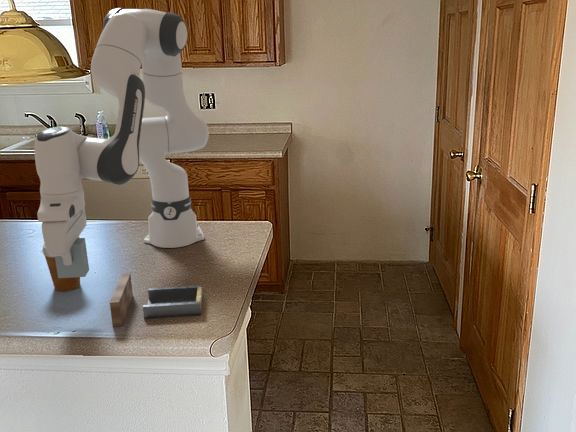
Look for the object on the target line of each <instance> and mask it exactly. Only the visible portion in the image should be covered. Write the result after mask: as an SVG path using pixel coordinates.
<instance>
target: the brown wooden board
mask: <svg viewBox="0 0 576 432" xmlns="http://www.w3.org/2000/svg"><path fill="white" fill-rule="evenodd" d="M133 296H134V293H133V285H132V276H131V273H121V276H120V277H119V281H118V283H117V285H116V287H115V289H114V292H113V293H112V297H111V299H110V301H109V309H110V317H111V323H112V324H111V325H112V328H117V327H118V328H119V327H123V324H124V321H125V318H126V315H127V313H128V310H129V308H130V304H131V302H132V299H133Z"/></svg>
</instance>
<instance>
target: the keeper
mask: <svg viewBox="0 0 576 432" xmlns="http://www.w3.org/2000/svg"><path fill="white" fill-rule="evenodd" d="M147 295H148V296H147V297H148V301H147V304H143V305H142V310H143V311H142V312H143V319H148V320H149V319H162V318H163V319H164V318H178V317H192V316H193V317H195V316H201V315H202V308H203V297H204V296H203V285H188V286H187V285H186V286H185V285H183V286H169V287H168V286H167V287H156V288H155V287H152V288H151V287H150V288H149V287H148V289H147Z"/></svg>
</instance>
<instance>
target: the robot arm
mask: <svg viewBox="0 0 576 432" xmlns="http://www.w3.org/2000/svg"><path fill="white" fill-rule="evenodd" d="M101 31H102V32H101V33H100V36H99V38H98V41H97V43H96V46H95V49H94V52H93V55H92V58H91V63H90V73H91V76H92V78H93V80H94V81H95V82H96V84H97V85H98V86H99V87H100V88H101V89H102V90H104V91H105V92H107V93H108V94H110V95H112V96H113V97H115V98H116V99H117V100H118V111H117V117H116V124H115V131H114V133H113V135H112V136H111V137H109V138H102V137H93V136H85V135H82V134H79V133H77V132H74V131H72V129H71V128H70V127H66V126H54V127H49V128H45V129H43V130H41V131H40V132H38V133H37V135H36V136H35V139H34V147H33V148H34V149H33V150H34V160H35V169H36V172H37V173H36V174H37V175H38V177H39V181H40V186H39V192H40V194H39V195H40V204H39V208H38V210H37V221H38V222H39V223H41V233H42V236H43V237H42V238H43V243H44V244H45V247H46V251H47V253H48V254H49V256H61V257H62V258H63V264H64V265H71V264H72V262H73V255H71V252H70V251H71V247H72V245H73V244H74V242H75V241H76V239H77V238H80V235H81V234H82V232H83V231H84V229H85V228H86V227H87V216H86V209H85V207H86V201H85V194H84V188H83V187H84V186H83V184H82V180H83V179H87V180H91V181H101V182H105V183H108V184H109V183H110V184H114V185H117V186H119V185H125V184H127V182H130V180H131V179H132V178H133V177H135V175H136V174H137V172H138V169H139V167H140V166H139V165H140V162H141V164H142V165H143V166H144V168H145V169H146V171H147V174H148V177H149V181H150V186H151V194H152V198H151V203H150V205H151V210H152V212H151V214H150V215H149V216H148V218H147V220H148V221H147V222H148V223H147V224H148V233H147V235H146V236H145V237H144V239H143V242H144V243H146V244H150V245H153V246H154V247H157V248H164V249H166V248H167V249H169V248H170V249H174V248H182V247H187V246H189V245H192V244H194V243H197V242H200V241H203V240H205V235H204V233H203V230H202V229H201V227H200V225H199V223H198V221H197V214H196V213H195V211H193V209H192V199H191V196H190V194H189V193H190V191H189V180H188V173H187V171H186V170H185V168H183V167H181V166H180V165H178V164H175V163H173V162H170V161H168V160H167V159H166V155H168V154H177V153H190V152H193V151H194V152H195V151H197V150H201V149H203V148H205V147H206V145H207V143H208V141H209V138H210V129H209V127H208V124H207V122H206V121H205V120H204V119H203V118H202V117H200V115H198V114H196V113H195V112H194V111H193V110H192V109H191V107H190V105H189V104H188V102H187V100H186V97H185V90H184V83H183V66H182V65H183V64H182V57H181V53H182V52H183V50H184V49H185V48H186V45H187V43H188V37H189V36H188V35H189V33H188V26H187V22H186V21H185V20H184V19H183V17H182V16H181V15H179V14H177V13H174V12H171V11H168V12H165V11H160V10H157V9H151V8H141V9H140V8H126V7H116V8H113V9H111V10H109V11H108V13H107V14H106V15H105V16H104V18H103V21H102V30H101ZM140 71H141V72H142V73H141V74H142V79H141V78H140ZM146 101H147V103H149V104H150V105H152V106H154V107H157V108H159V109H160V110H163V111H165V112H166V115H165V116H156V117H155V116H154V117H152V116H151V117H144V110H145V103H146Z"/></svg>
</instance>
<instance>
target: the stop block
mask: <svg viewBox="0 0 576 432" xmlns="http://www.w3.org/2000/svg"><path fill="white" fill-rule="evenodd" d="M70 252H71V255H73V262H72V264H71V265H64V264H63V258H62V257H61V256H55V261H56V267H57V274H58V278H72V277H80V278H85V277H86V276H87V274H88V273H89V271H90V265H89V264H90V263H89V259H88V258H89V257H88V251H87V244H86V238H85V237H79V238H77V239H76V241H75V242H74V244H73V245H72V247H71V251H70Z"/></svg>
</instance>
